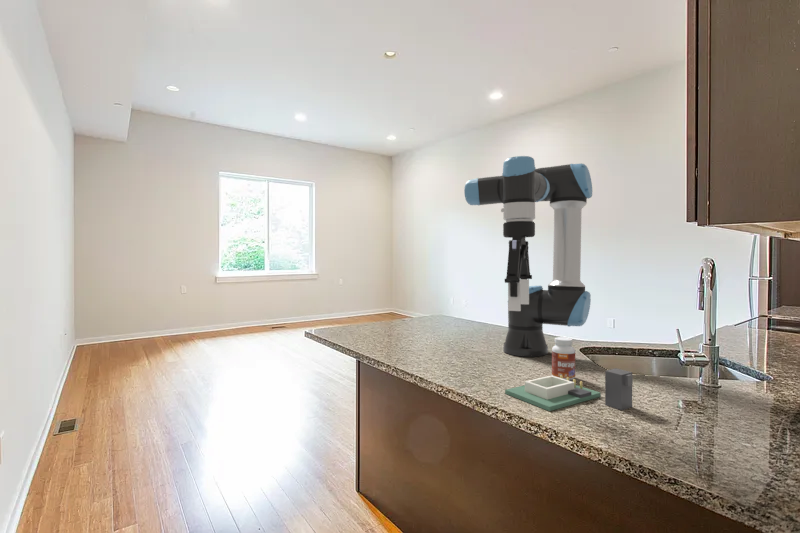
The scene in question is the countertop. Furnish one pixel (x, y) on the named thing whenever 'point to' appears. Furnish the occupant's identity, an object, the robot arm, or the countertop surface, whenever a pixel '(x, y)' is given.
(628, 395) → the plug
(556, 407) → the header board
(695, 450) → the countertop surface
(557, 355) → the pill bottle
